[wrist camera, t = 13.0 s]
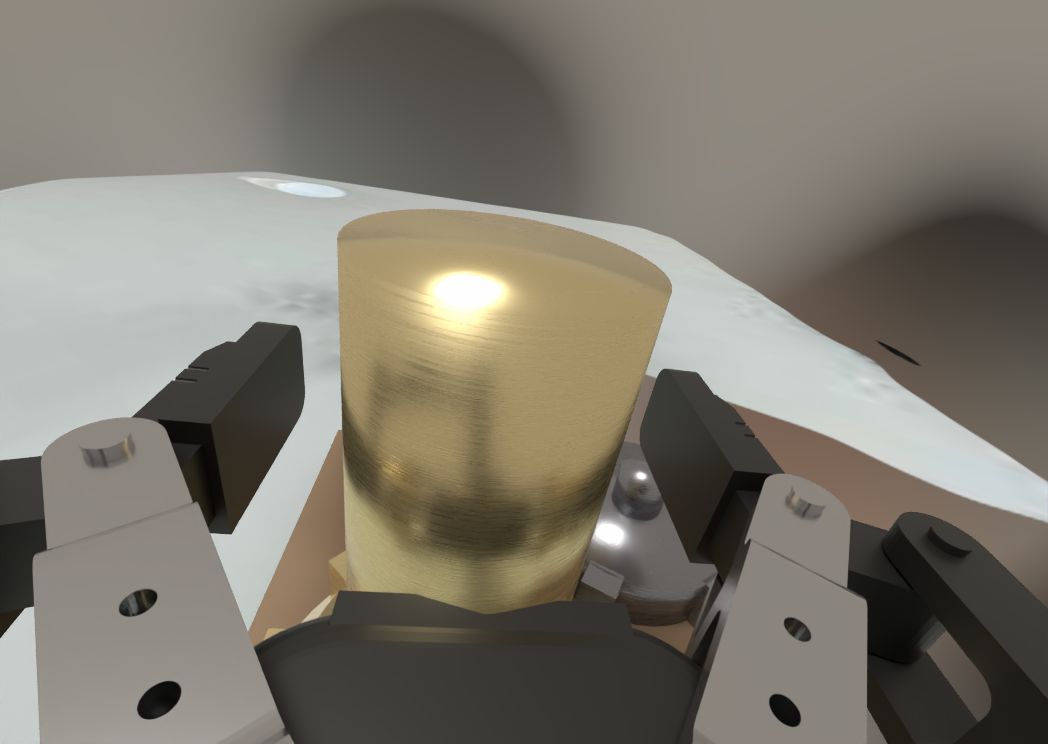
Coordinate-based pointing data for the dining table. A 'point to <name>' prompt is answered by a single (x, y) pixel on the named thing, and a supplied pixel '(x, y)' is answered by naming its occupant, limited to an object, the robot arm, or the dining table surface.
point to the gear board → (322, 537)
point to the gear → (641, 552)
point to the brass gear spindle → (483, 401)
